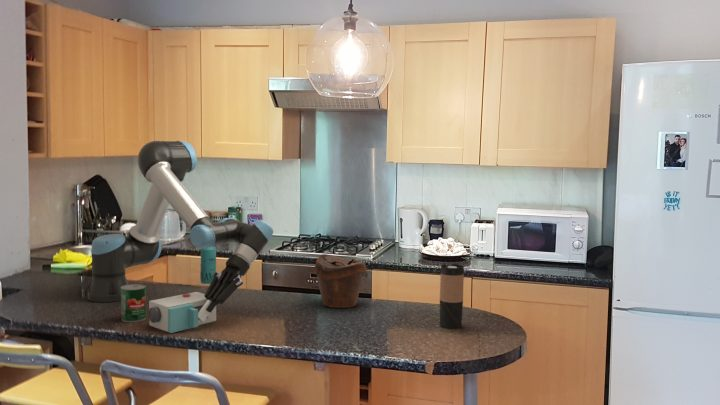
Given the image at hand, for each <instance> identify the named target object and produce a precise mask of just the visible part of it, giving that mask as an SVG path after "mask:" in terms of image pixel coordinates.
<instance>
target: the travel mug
mask: <svg viewBox="0 0 720 405" xmlns="http://www.w3.org/2000/svg"><path fill="white" fill-rule="evenodd" d="M464 270H465V267H464V265H461V264H459V263H458V264H456V263H452V264H450V265H447V264H441V265H440V278H439V279H440V283H439V326H440V327H441V328H445V329H459V328H461V327H462V323H463V309H464V283H465V282H464V281H465V280H464V279H465V278H464V276H465V275H464V274H465V272H464Z"/></svg>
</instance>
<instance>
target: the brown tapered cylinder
mask: <svg viewBox="0 0 720 405" xmlns="http://www.w3.org/2000/svg"><path fill="white" fill-rule="evenodd" d="M313 272H314V274H315V275H316V278H317V282H318V287H319V291H320V296H321V302H322V305H323V306H325V307H329V308H336V309H339V308H340V309H343V308H345V309H346V308H347V309H348V308H353V307H355V306H357V304H358V299H359V294H360V290H361V286H362V281H363V277H364V278H366V279H367V278H368V276H369V275H368V269H367V266H366V264H365V263H364V262H363V261H358V262H357V260H356V259H354V258H352V259H351V260H349V259H346V258H342V257H338V256H336V255H332V254H327V253H326V254H325V253H324V254H320V255H319V256H318V257H317V258H316V261H315V265H314V268H313Z"/></svg>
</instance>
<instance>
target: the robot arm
mask: <svg viewBox="0 0 720 405" xmlns="http://www.w3.org/2000/svg"><path fill="white" fill-rule="evenodd" d="M197 162H198V156H197V154H196V150H195V148H194V147H193V145H192V144H191V143H189V142H187V141H180V140H176V141H174V140H169V141H168V140H153V141H148V142H147V143H145V144H144V145H143V146H141V148H140V150H139V152H138V156H137V166H138V169H139V171H140V174H142V175H143V178H145V179H146V182H148V183H151V185H150V188H149V189H148V193H147V195H146V197H145V201H144V203H143V206H142V208H141V211H140V214H139V216H138V219H137V221H136V223H135V225H133V226H131V227H130V228H129V231H128V233H127V235H124V234H123V233H112V234H111V233H110V234H104V235H99V236H97V237H95V238H94V239H93V240H92V242H91V250H90V253H91V268H92V269H91V272H92V278H91V282H90V284H89V288H88V291H87V300H89V301H90V302H96V303H111V302H118V301H120V302H121V287H122V286H124V285H129V283H128V280H127V277H126V268H129V267H134V266H139V265H146V264H149V263H152V262H154V261H156V260H157V259H158V258H159V256H160V254H161V252H162V248H163V247H162V246H161V245H162V240H161V238H160V234H159V231H160V228H161V225H162V222H163V221H164V218H165V216H166V213H167V210H168V208H169V205H170V207H171V208H172V209H173V210H174V211H175V213H176V214H177V216H178V217H179V218H180V219H181V220H182V221H183V223H184V224H185V225H186V226H187V228H188V229H189V231H190V232H189V239H190V243H191V244H192V246H194V247H195V248H198V249H201V248H205V247H211V246H214V247H215V246H220V245H226V244H232V243H234V244H237V246H236V247H235V249H234V250H233V251H232V254H231V255H230V256H229V258H228V259H227V260H226V262H225V268H224V269H222V271H221V272H219V273H218V272H217V271H216V273H215V274H214V277H213V280H212V282H211V284H209V286H208V287H207V290H206V291H205V293H204V294H205V295H204V297H205V298H206V299H207V300H206V302H205V303H204V305H203V306H202V308H201V310H200V311H199V312H198V319H199V320H200V321H202V322H204V321H205V319H206V318H207V316H208V315H209V314H210V313H211V312H212V310H213V309H214V307H215V306H216V307H217V306H218V305H219V304H220V305H223V304H224V303H225V302H226V301H227V300H228V298H230V297H231V296H232V294H233V293H234V292H235V291H236V290H237V289H238V288H240V287H241V286H242V285H244V282H243V281H242V277H244V276H246V274H247V273H248V271H249V270H250V268H251V266H252V265H253V263H254V262H255V261H256V259H257V258H258V257H259V255H260V254H261V252H262V251H263V250H264V248H265V247H266V245H267V244H268V243H269V241H270V240H271V237H272V236H273V234H274V229H273V227H272V226H271V224H269V223H268V222H267V221H265V220H263V219H256V220H255V221H254V223H253V222H252V224H250V223H246V222H244V221H239V220H238V219H235V218H231V217H225V218H222V219H221V220H220V221H219V222H214V221H213V220H212V219H211V218H210V217H209V215H208V214H207V213H206V212H205V211H204V209H203V207H202V206H201V205H200V204H199V203H198V202H197V200H196V199H195V198H194V197H193V195H192V194H191V193H190V192H189V191H188V190H187V188H186V187H185V186H184V184H183V183H182V182H184V179H185V177H186V174H187V173H188V174H189V173H191V172H193V171H194V170H195V169H196V166H197Z"/></svg>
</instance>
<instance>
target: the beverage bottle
mask: <svg viewBox="0 0 720 405" xmlns="http://www.w3.org/2000/svg"><path fill="white" fill-rule="evenodd" d="M216 272H217V248H216V247H215V246H211V247H205V248H200V274H199V275H200V278H199V279H200V283H201V284H203V285H210V284H211V282H212V280H213V277H214V274H215V273H216Z"/></svg>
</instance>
